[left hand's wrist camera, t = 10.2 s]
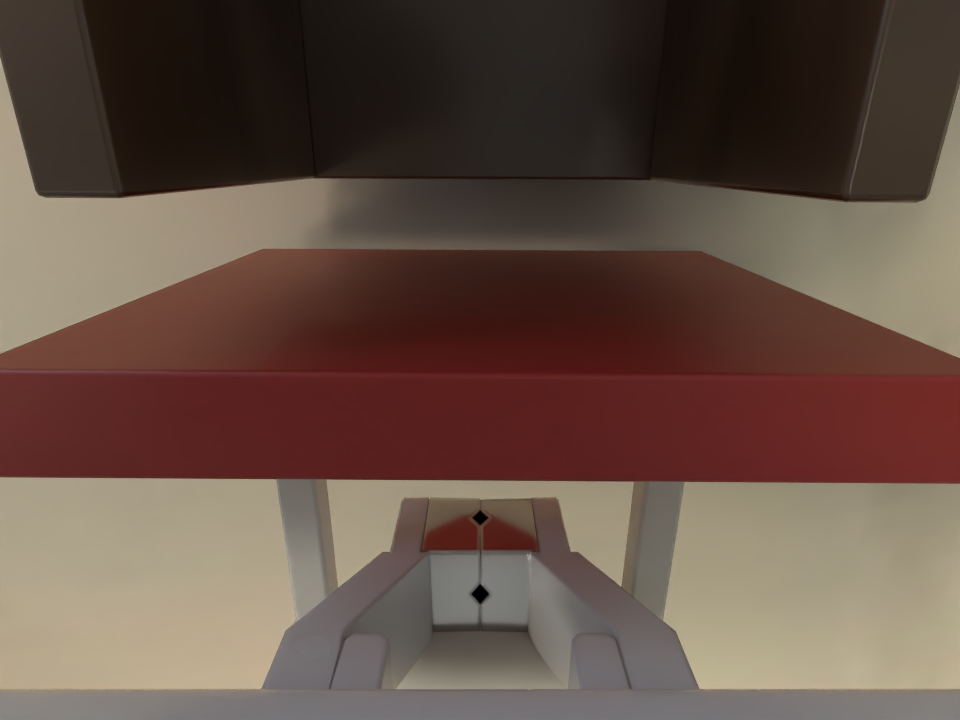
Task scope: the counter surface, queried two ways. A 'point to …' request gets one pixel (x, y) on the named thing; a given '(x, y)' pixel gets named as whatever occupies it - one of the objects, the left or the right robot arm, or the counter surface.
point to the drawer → (482, 258)
